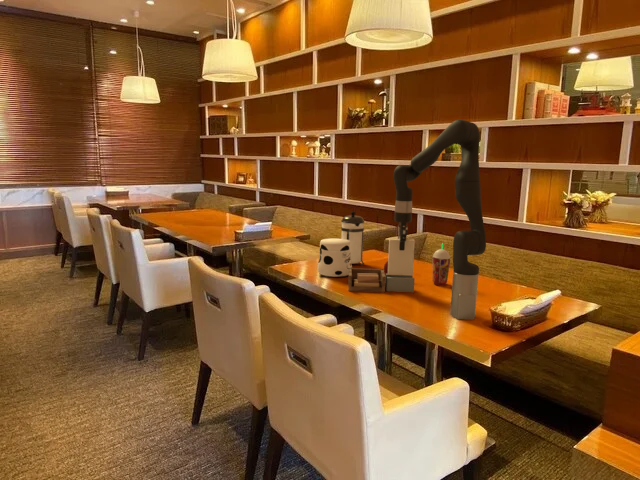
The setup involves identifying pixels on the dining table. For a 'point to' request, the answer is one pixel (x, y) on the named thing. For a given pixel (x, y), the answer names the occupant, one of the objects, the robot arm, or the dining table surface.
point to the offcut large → (365, 284)
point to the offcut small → (367, 277)
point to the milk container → (334, 258)
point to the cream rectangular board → (401, 257)
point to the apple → (386, 268)
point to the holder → (399, 283)
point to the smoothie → (441, 266)
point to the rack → (381, 287)
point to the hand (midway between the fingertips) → (401, 249)
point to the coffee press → (354, 236)
